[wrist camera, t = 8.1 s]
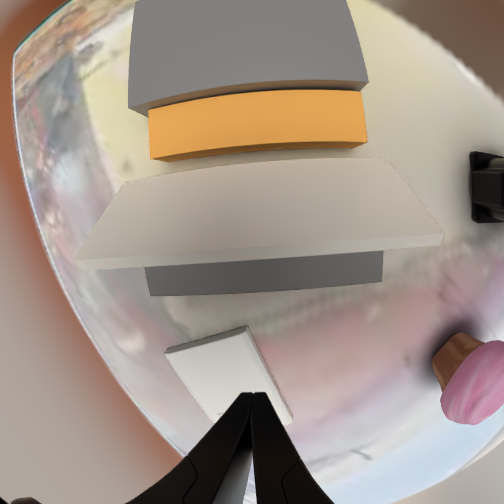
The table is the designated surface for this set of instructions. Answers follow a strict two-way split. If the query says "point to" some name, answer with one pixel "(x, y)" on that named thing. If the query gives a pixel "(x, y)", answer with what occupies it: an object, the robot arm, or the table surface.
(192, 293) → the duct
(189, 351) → the external hard drive
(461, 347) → the cupcake
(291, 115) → the orange bar
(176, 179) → the panel
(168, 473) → the robot arm
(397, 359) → the table surface
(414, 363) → the table surface
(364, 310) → the table surface
